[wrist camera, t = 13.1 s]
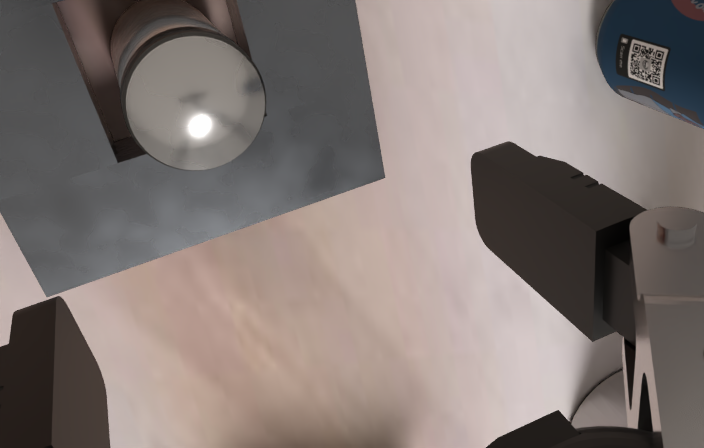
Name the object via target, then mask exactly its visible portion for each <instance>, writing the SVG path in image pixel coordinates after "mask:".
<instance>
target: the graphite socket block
mask: <svg viewBox="0 0 704 448" xmlns="http://www.w3.org/2000/svg"><path fill="white" fill-rule="evenodd" d="M59 1H63V0H0V213H1V214H2V216H3V218H4V220H5V222H6V224H7V225H8V227H9V229H10V231H11V233H12V235H13V236H14V238H15V240H16V242H17V244H18V246H19V247H20V249H21V251H22V253H23V255H24V256H25V258H26V260H27V262H28V264H29V266H30V267H31V269H32V271H33V273H34V275H35V277H36V278H37V280H38V282H39V284H40V286H41V287H42V289H43V291H44V293H45V295H46V297H49V296H52V295H55V294H58V293H61V292H64V291H66V290H69V289H72V288H75V287H78V286H80V285H83V284H86V283H89V282H92V281H95V280H97V279H100V278H103V277H106V276H109V275H112V274H114V273H117V272H120V271H123V270H126V269H129V268H131V267H134V266H137V265H140V264H143V263H146V262H148V261H151V260H154V259H157V258H160V257H163V256H165V255H168V254H171V253H174V252H177V251H180V250H182V249H185V248H188V247H191V246H194V245H196V244H199V243H202V242H205V241H208V240H211V239H213V238H216V237H219V236H222V235H225V234H228V233H230V232H233V231H236V230H239V229H242V228H245V227H247V226H250V225H253V224H256V223H259V222H262V221H264V220H267V219H270V218H273V217H276V216H279V215H281V214H284V213H287V212H290V211H293V210H296V209H298V208H301V207H304V206H307V205H310V204H312V203H315V202H318V201H321V200H324V199H327V198H329V197H332V196H335V195H338V194H341V193H344V192H346V191H349V190H352V189H355V188H358V187H361V186H363V185H366V184H369V183H372V182H375V181H378V180H380V179H383V178H385V174H384V168H383V162H382V156H381V150H380V144H379V138H378V132H377V126H376V121H375V115H374V109H373V103H372V97H371V91H370V85H369V79H368V73H367V68H366V62H365V56H364V50H363V44H362V38H361V32H360V26H359V21H358V15H357V9H356V3H355V0H226V2H227V6H228V9H229V13H230V17H231V20H232V24H233V28H234V31H235V35H236V39H237V42H238V46H239V47H240V48H241V49H242V50H243V51H244V52H245V53H246V54H247V55H248V56H249V57H250V58H251V60H252V61H253V62H254V64H255V65H256V67H257V68H258V70H259V72H260V74H261V76H262V79H263V82H264V86H265V91H266V112H265V117H264V121H263V124H262V126H261V129H260V131H259V133H258V135H257V136H256V138H255V139H254V141H253V142H252V144H251V145H250V146H249V147H248V148H247V149H246V150H245V151H244V152H243V153H242V154H241V155H239V156H238V157H237V158H235V159H234V160H232V161H230V162H228V163H227V164H224V165H222V166H219V167H216V168H213V169H209V170H202V171H187V170H180V169H175V168H172V167H169V166H166V165H164V164H162V163H160V162H158V161H156V160H155V159H153V158H152V157H150V156H149V155H148V154H146V153H145V152H144V151H143V150H142V149H141V148H140V147H139V145H138V144H137V143H136V142H135V140H134V139H133V137H129V138H126V139H122V140H119V141H116V142H114V141H113V139H112V136H111V134H110V131H109V129H108V127H107V124H106V122H105V119H104V117H103V114H102V112H101V109H100V107H99V105H98V102H97V100H96V97H95V95H94V92H93V90H92V88H91V85H90V83H89V80H88V78H87V75H86V73H85V70H84V68H83V66H82V63H81V61H80V58H79V56H78V53H77V51H76V49H75V46H74V44H73V41H72V39H71V36H70V34H69V31H68V29H67V27H66V24H65V22H64V19H63V17H62V14H61V12H60V10H59V7H58V5H57V2H59Z"/></svg>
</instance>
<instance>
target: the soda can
mask: <svg viewBox="0 0 704 448" xmlns="http://www.w3.org/2000/svg"><path fill="white" fill-rule="evenodd" d="M596 55H597V59H598V63H599V65H600V68H601V70H602V73H603V75H604V77H605V79H606V81H607V83H608V84H609V86H610V87H611V88H612V89H613V90H614V91H615V92H616V93H617V94H619V95H621V96H622V97H625V98H627V99H630V100H632V101H635V102H637V103H640V104H642V105H645V106H647V107H650V108H652V109H655V110H657V111H660V112H662V113H665V114H667V115H670V116H673V117H675V118H678V119H680V120H683V121H685V122H688V123H690V124H693V125H695V126H698V127H700V128H703V129H704V0H613V1H612V2H611V4H610V5H609V7H608V8H607V10H606V12H605V14H604V16H603V18H602V20H601V23H600V25H599V29H598V33H597V38H596Z"/></svg>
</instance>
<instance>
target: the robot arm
mask: <svg viewBox="0 0 704 448" xmlns="http://www.w3.org/2000/svg"><path fill="white" fill-rule="evenodd" d="M471 174H472V186H473V197H474V209H475V220H476V225H477V229H478V232H479V234H480V236H481V238H482V240H483V242H484V243H485V245H486V246H487V247H488V248H489V249H490V250H491V251H492V252H493V253H494V254H495V255H496V256H497V257H499V258H500V259H501V260H502V261H503V262H504V263H505V264H506V265H507V266H509V267H510V268H511V269H512V270H513V271H514V272H515V273H516V274H518V275H519V276H520V277H521V278H522V279H523V280H524V281H525V282H526V283H528V284H529V285H530V286H531V287H532V288H533V289H534V290H535V291H537V292H538V293H539V294H540V295H541V296H542V297H543V298H544V299H545V300H547V301H548V302H549V303H550V304H551V305H552V306H553V307H554V308H556V309H557V310H558V311H559V312H560V313H561V314H562V315H563V316H564V317H566V318H567V319H568V320H569V321H570V322H571V323H572V324H573V325H575V326H576V327H577V328H578V329H579V330H580V331H581V332H582V333H583V334H585V335H586V336H587V337H588V338H589V339H590V340H591V341H592V342H593V341H595V340H598V339H600V338H602V337H604V336H607V335H609V334H611V333H614V332H616V331H617V332H618V333H619V334H620V335H622V336H623V339H622V361H623V370H622V371H620V372H618V373H615V374H614V375H612V376H611V377H609V378H607V379H606V380H604V381H603V382H602V383H601V384H600V385H598V386H597V387H596V388H595V389H594V390H593V391H592V392H591V393H590V394H589V395H588V396H587V397H586V399H585V400H584V401H583V403H582V404H581V405H580V407H579V408H578V410H577V412H576V414H575V416H574V418H573V421H572V423H570V422H569V421H568V420H567V419H566V418H565V417H564V416H563V415H562V414H561V412H560V411H559V410H557V411H555V412H553V413H551V414H548V415H546V416H544V417H542V418H540V419H538V420H535V421H533V422H531V423H529V424H527V425H525V426H522V427H520V428H518V429H516V430H514V431H512V432H509V433H507V434H505V435H503V436H501V437H499V438H497V439H496V440H495V441H493V442H492V443H491V444H490V445H488V446H487V447H486V448H704V213H703V212H701V211H697V210H694V209H689V208H683V207H660V208H654V209H650V210H646V209H645V208H643V207H641V206H639V205H638V204H636V203H634V202H633V201H631V200H629V199H627V198H626V197H624V196H622V195H620V194H619V193H617V192H615V191H614V190H612V189H610V188H608V187H607V186H605V185H603V184H600V185H599V183H598V181H596V180H595V179H593V178H591V177H590V176H588V175H585V176H584V175H583V172H581V171H579V170H578V169H576V168H574V167H572V166H571V165H569V164H567V163H566V162H563V161H559V160H555V159H551V158H547V157H543V156H538V157H536V156H534V155H532V154H531V153H529V152H527V151H526V150H524V149H522V148H521V147H519V146H518V145H516V144H514V143H512V142H505V143H502V144H499V145H496V146H493V147H490V148H488V149H485V150H482V151H479V152H476V153H474V154H473V156H472V159H471ZM0 448H110V438H109V424H108V409H107V395H106V389H105V384H104V380H103V377H102V374H101V371H100V369H99V366H98V364H97V362H96V359H95V358H94V356H93V354H92V352H91V350H90V348H89V346H88V344H87V342H86V340H85V338H84V336H83V335H82V333H81V331H80V329H79V327H78V325H77V323H76V321H75V319H74V317H73V315H72V313H71V312H70V310H69V308H68V306H67V304H66V303H65V301H64V300H63V299H62V298H61V297H60V296H57V297H54V298H52V299H49V300H46V301H43V302H40V303H37V304H34V305H31V306H29V307H26V308H23V309H20V310H17V311H15V312H14V313H13V317H12V325H11V332H10V340H9V344H7V345H4V346H2V347H0Z"/></svg>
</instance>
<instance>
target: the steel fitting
mask: <svg viewBox="0 0 704 448" xmlns="http://www.w3.org/2000/svg"><path fill="white" fill-rule="evenodd" d="M110 51H111V57H112V62H113V65H114V69H115V73H116V76H117V80H118V84H119V88H120V101H121V107H122V111H123V115H124V119H125V122H126V125H127V128H128V130H129V132H130V134H131V136H132V137H133V139H134V140H135V142H136V143H137V144H138V145H139V147H140V148H141V149H142V150H143V151H144V152H145V153H146V154H148V155H149V156H150V157H152V158H153V159H155V160H156V161H158V162H160V163H162V164H164V165H166V166H169V167H172V168H175V169H180V170H187V171H202V170H209V169H213V168H216V167H219V166H222V165H224V164H227V163H228V162H230V161H232V160H234V159H235V158H237V157H238V156H239V155H241V154H242V153H243V152H244V151H245V150H246V149H247V148H248V147H249V146H250V145H251V144H252V142H253V141H254V139H255V138H256V136H257V135H258V133H259V131H260V129H261V126H262V124H263V121H264V117H265V112H266V91H265V86H264V82H263V79H262V76H261V74H260V72H259V70H258V68H257V67H256V65H255V64H254V62H253V61H252V60H251V58H250V57H249V56H248V55H247V54H246V53H245V52H244V51H243V50H242V49H241V48H240V47H239V46H238V45H237V44H236V43H234V42H233V41H232V40H231V39H229V38H228V37H226V36H224V35H223V34H222V33H221V32H220V31H219V30H218V29H217V28H216V27H215V26H214V25H213V24H212V23H211V22H210V21H209V20H208V19H207V18H206V17H205V16H204V15H203V14H202V13H201V12H200V11H199V10H198V9H197V8H195V7H194V6H192V5H191V4H189V3H187V2H185V1H183V0H141V1H139V2H137V3H135V4H133V5H132V6H130V7H129V8H128V9H127V10H126V11H125V12H124V13H123V14H122V15H121V16H120V17H119V19H118V21H117V22H116V24H115V26H114V29H113V32H112V36H111V43H110Z"/></svg>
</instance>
